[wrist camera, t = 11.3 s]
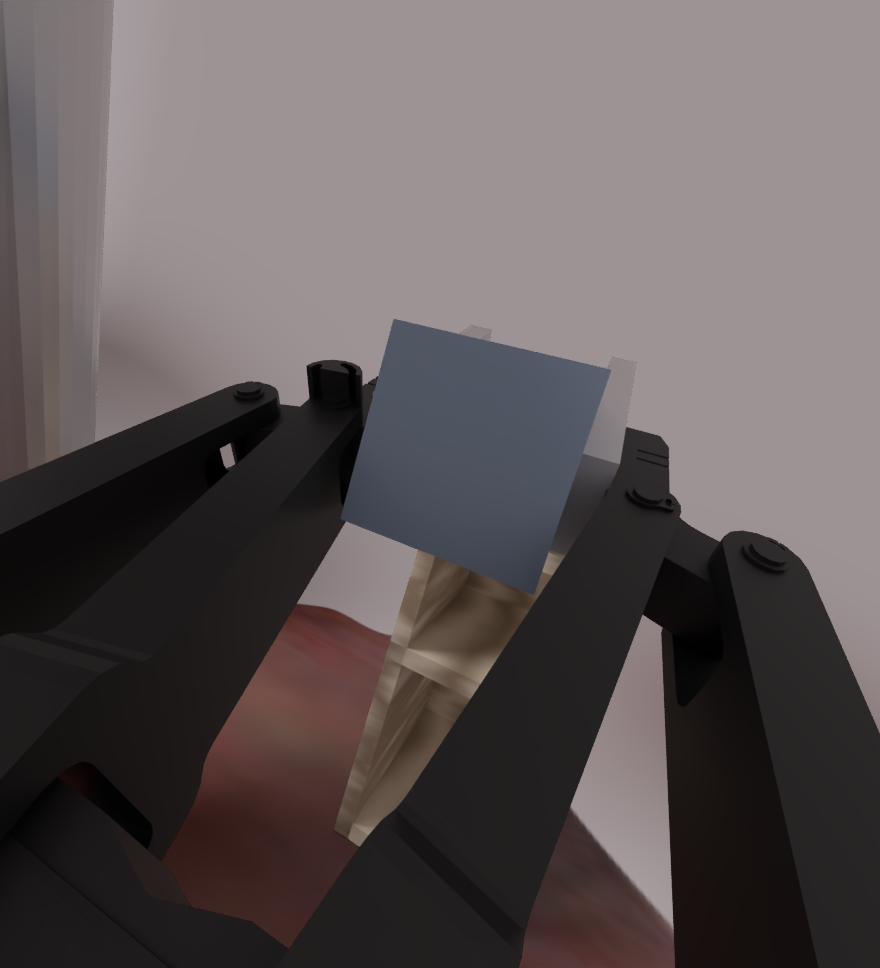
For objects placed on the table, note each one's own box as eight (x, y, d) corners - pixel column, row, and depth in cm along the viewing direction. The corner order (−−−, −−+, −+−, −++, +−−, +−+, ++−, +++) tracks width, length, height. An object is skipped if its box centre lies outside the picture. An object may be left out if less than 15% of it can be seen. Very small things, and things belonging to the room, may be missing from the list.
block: (340, 518, 8) (393, 319, 8) (513, 475, 33) (529, 426, 33) (534, 595, 7) (611, 369, 7) (563, 492, 32) (581, 441, 32)
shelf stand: (333, 829, 37) (435, 490, 33) (415, 706, 56) (487, 481, 52) (482, 926, 33) (620, 555, 29) (516, 759, 52) (603, 520, 48)
